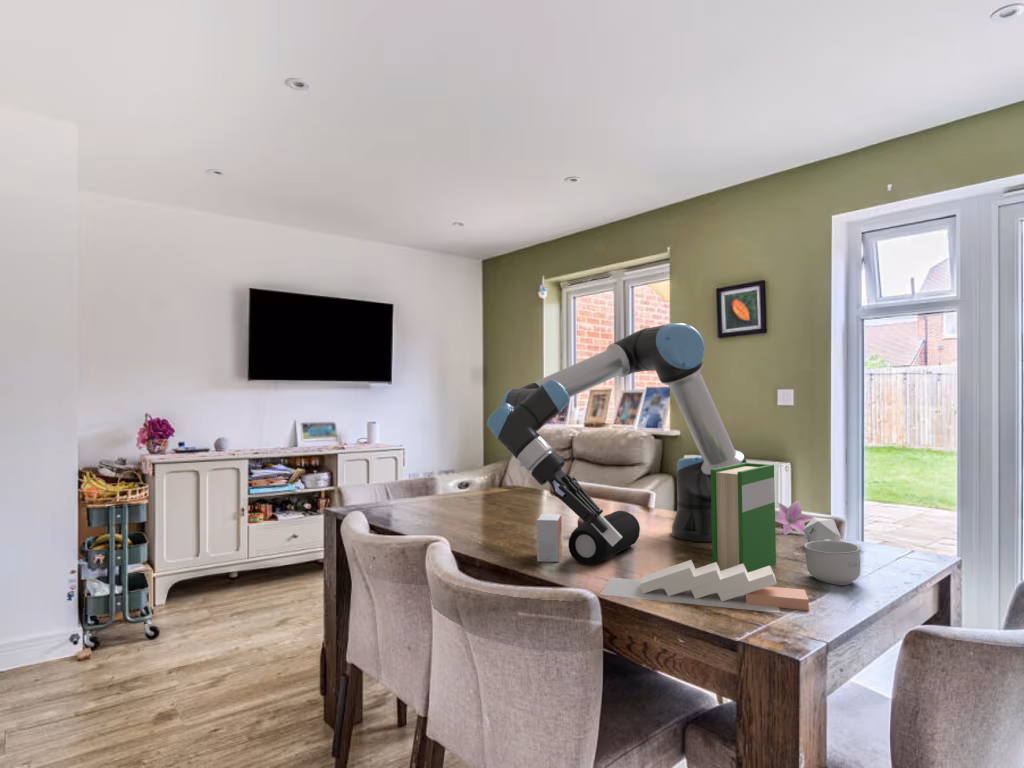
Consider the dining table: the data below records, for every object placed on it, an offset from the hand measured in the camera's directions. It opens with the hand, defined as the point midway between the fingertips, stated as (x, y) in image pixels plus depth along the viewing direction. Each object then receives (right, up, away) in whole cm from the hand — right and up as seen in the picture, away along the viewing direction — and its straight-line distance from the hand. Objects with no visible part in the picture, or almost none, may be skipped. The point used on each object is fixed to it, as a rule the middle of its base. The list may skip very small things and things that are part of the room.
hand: (617, 541), depth 127 cm
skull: (+1, -11, +49) cm, 51 cm away
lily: (+60, -11, +49) cm, 78 cm away
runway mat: (+14, -10, -5) cm, 17 cm away
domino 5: (+24, -8, -9) cm, 27 cm away
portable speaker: (+2, -11, +27) cm, 29 cm away
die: (+60, -10, +31) cm, 68 cm away
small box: (-13, -11, +25) cm, 30 cm away
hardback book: (+33, -10, +14) cm, 37 cm away
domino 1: (+5, -9, -2) cm, 10 cm away
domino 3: (+15, -8, -5) cm, 18 cm away
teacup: (+49, -10, +5) cm, 50 cm away
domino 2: (+10, -9, -4) cm, 13 cm away
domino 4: (+19, -8, -7) cm, 22 cm away
